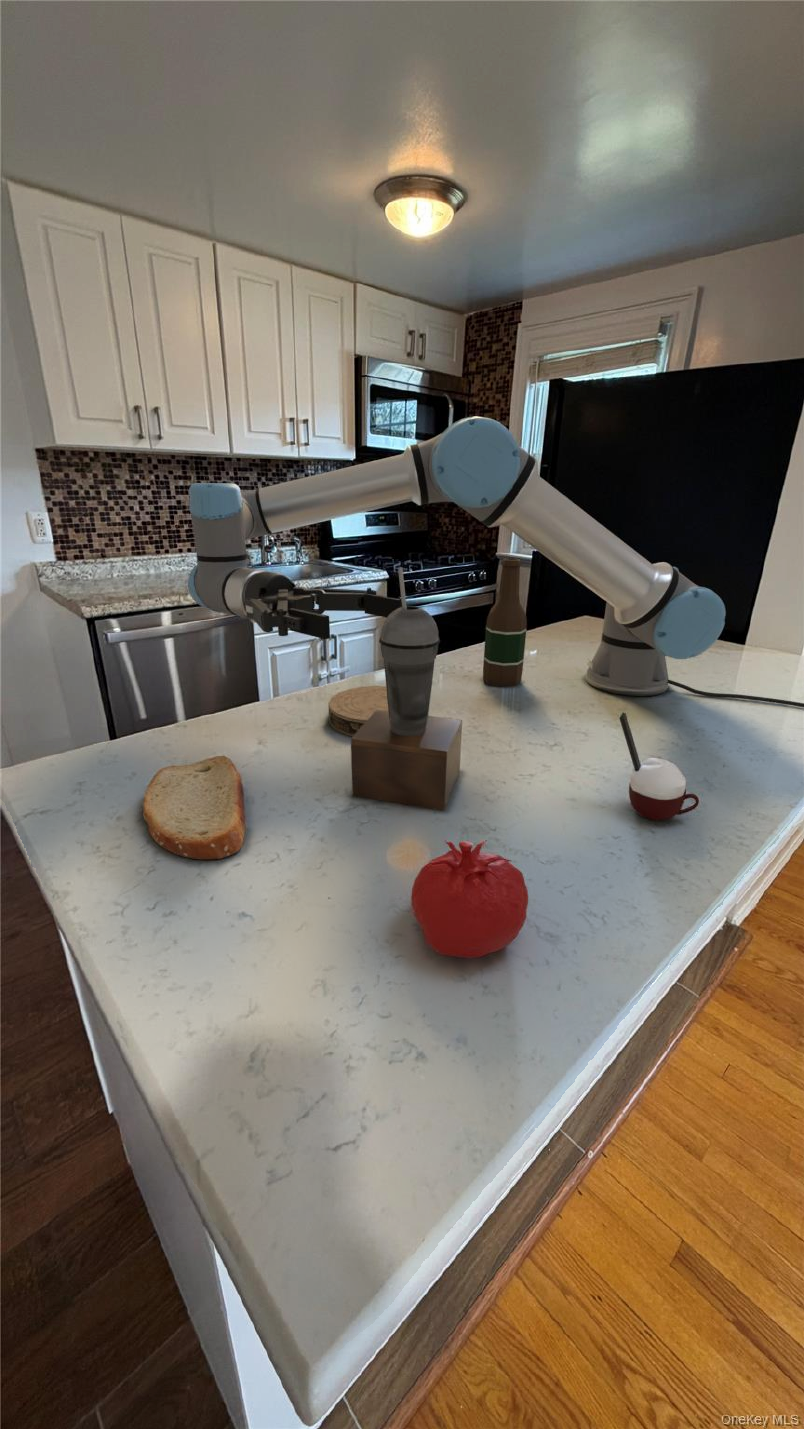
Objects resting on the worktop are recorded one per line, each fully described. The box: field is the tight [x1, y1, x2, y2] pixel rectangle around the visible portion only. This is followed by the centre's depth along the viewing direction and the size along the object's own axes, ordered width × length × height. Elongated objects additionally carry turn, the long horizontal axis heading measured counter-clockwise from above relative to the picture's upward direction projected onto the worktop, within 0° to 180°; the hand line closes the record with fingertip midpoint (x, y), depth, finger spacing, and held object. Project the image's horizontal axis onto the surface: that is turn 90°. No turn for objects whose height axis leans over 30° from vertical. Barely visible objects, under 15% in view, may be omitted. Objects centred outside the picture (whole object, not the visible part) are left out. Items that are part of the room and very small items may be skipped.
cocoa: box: [618, 711, 700, 822], centre depth 67 cm, size 10×6×12 cm, turn 38°
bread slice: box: [142, 754, 246, 860], centre depth 68 cm, size 18×18×4 cm
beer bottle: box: [482, 557, 528, 688], centre depth 110 cm, size 8×8×24 cm
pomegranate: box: [410, 839, 529, 959], centre depth 49 cm, size 10×10×9 cm
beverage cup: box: [378, 566, 441, 736], centre depth 68 cm, size 7×7×20 cm
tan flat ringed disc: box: [327, 685, 388, 737], centre depth 95 cm, size 16×16×3 cm
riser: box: [350, 710, 463, 811], centre depth 73 cm, size 12×10×8 cm
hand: (367, 618), depth 72 cm, fingers open, 13 cm apart
